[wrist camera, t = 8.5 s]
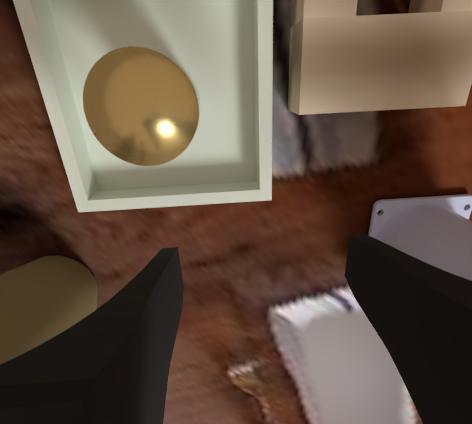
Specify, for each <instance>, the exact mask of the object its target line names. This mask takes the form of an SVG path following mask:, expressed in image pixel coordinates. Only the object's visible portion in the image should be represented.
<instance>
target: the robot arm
mask: <svg viewBox="0 0 472 424" xmlns="http://www.w3.org/2000/svg"><path fill="white" fill-rule="evenodd" d="M465 205H466V207H465V208H464V206H465ZM380 210H381V212H380V213H379V214H377V213H378V211H380ZM471 210H472V195H470V194H462V195H446V196H430V197H415V198H399V199H384V200H378V201H376V202H375V203H374V205H373V210H372V216H371V222H370V228H369V234H368V235H366V234H361V235H350V241H349V248H348V255H347V262H346V269H345V277H346V279H347V282H348V284H349V287H350V289H351V291H352V293H353V295H354V297H355V298H356V300H357V302H358V303H359V305H360V307H361V308H362V310H363V311H364V313H365V315H366V316H367V318H368V319H369V321H370V322H371V324H372V326H373V327H374V328H375V330H376V332H377V333H378V335H379V336H380V338H381V339H382V341H383V343H384V345H385V346H386V348H387V349H388V351H389V353H390V355H391V357H392V359H393V361H394V363H395V365H396V367H397V369H398V371H399V373H400V375H401V377H402V379H403V381H404V383H405V385H406V387H407V389H408V392H409V394H410V396H411V398H412V400H413V402H414V404H415V406H416V409H417V411H418V413H419V416H420V418H421V420H422V423H423V424H472V221H470V220H468V219H469V216H470V213H471ZM183 290H184V286H183V279H182V273H181V266H180V260H179V254H178V247H176V248H163V249H162V250H161V251H160V252H159V253H158V254H157V255H156V256H155V257H154V258H153V259H152V260H151V261H150V262H149V263H148V264H147V265H146V266H145V268H144V269H143V270H142V271H141V272H140V273H139V274H138V275H137V276H136V277H135V278H134V279H132V280H131V281H130V282H129V283H128V284H127V285H126V286H125V287H124V288H123V289H122V290H120V291H119V292H118V293H117V294H116V295H115V296H113V297H112V298H111V299H110V300H109V301H107V302H106V303H105V304H103V305H102V306H101V307H99V308H98V309H97V310H95V311H94V312H92V313H91V314H89V315H88V316H86V317H85V318H83V319H82V320H80V321H79V322H77V323H76V324H74V325H73V326H71V327H70V328H68V329H67V330H65V331H63V332H62V333H60V334H58V335H56V336H55V337H53V338H51V339H49V340H48V341H46V342H44V343H42V344H40V345H39V346H37V347H35V348H33V349H31V350H29V351H27V352H25V353H23V354H21V355H19V356H17V357H15V358H13V359H11V360H9V361H7V362H5V363H2V364H0V424H163V418H164V408H165V399H166V390H167V382H168V373H169V367H170V362H171V357H172V352H173V348H174V343H175V339H176V334H177V330H178V325H179V320H180V316H181V311H182V302H183Z"/></svg>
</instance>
